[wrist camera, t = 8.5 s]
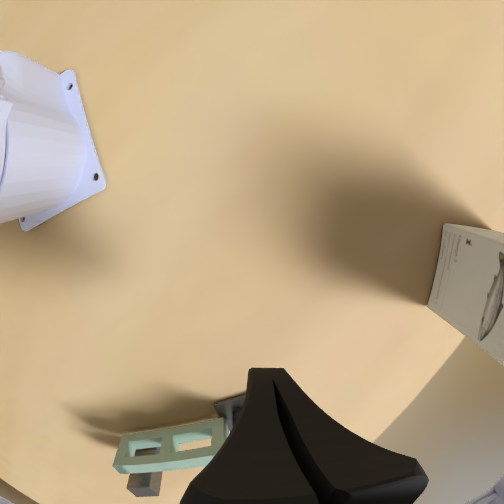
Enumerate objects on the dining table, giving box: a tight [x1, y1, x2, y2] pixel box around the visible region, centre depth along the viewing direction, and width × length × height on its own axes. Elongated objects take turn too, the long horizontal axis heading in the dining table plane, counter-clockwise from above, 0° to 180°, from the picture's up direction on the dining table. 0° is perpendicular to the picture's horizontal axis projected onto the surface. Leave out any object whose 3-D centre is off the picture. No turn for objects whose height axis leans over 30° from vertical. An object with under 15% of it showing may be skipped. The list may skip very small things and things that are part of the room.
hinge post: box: [214, 394, 246, 432], centre depth 21 cm, size 4×4×6 cm
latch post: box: [127, 447, 162, 497], centre depth 21 cm, size 3×4×6 cm
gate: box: [113, 417, 229, 474], centre depth 20 cm, size 10×1×4 cm, turn 108°
